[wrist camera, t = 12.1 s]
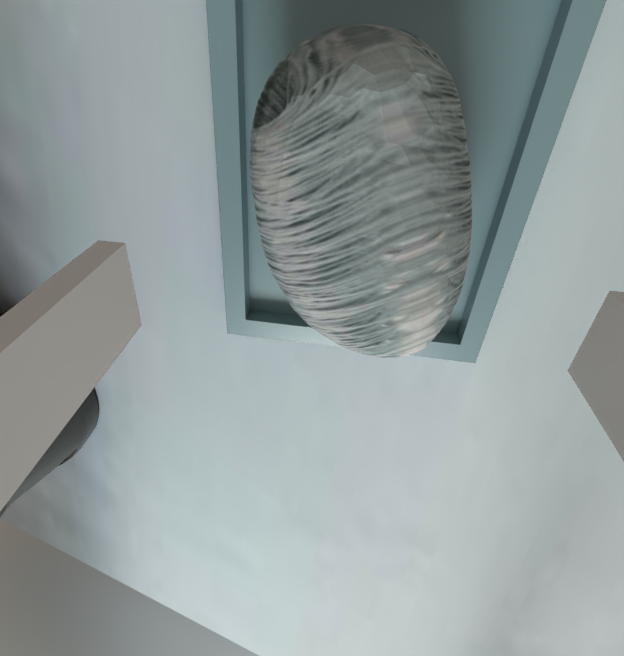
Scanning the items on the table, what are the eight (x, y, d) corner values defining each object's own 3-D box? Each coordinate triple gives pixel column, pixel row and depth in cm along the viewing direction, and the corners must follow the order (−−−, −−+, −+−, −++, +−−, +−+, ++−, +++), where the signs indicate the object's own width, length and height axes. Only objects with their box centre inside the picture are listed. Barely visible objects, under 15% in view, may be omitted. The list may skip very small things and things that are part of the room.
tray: (235, 316, 29) (227, 333, 27) (216, -79, 18) (200, -91, 16) (469, 343, 28) (475, 362, 26) (604, -55, 17) (629, -65, 15)
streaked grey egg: (183, 33, 16) (265, 120, 10) (402, -23, 18) (598, 19, 11) (260, 293, 26) (326, 422, 20) (396, 241, 28) (499, 345, 21)
